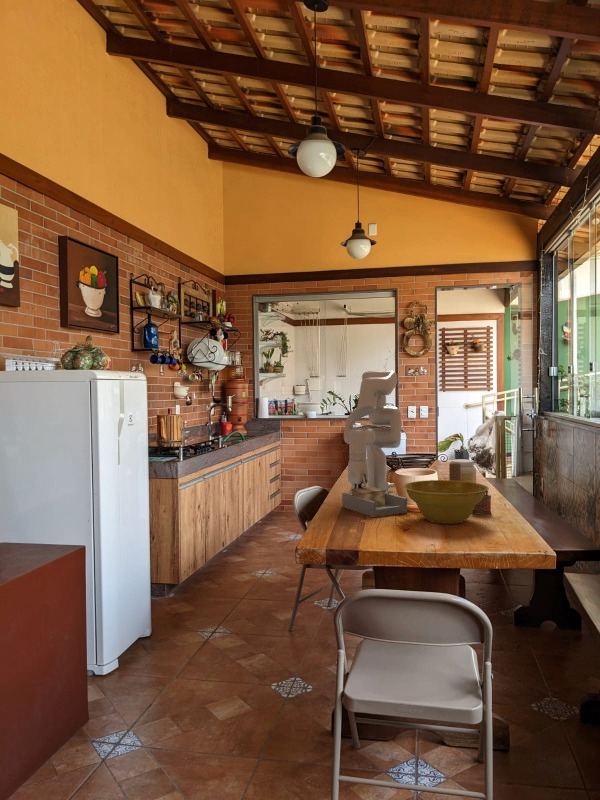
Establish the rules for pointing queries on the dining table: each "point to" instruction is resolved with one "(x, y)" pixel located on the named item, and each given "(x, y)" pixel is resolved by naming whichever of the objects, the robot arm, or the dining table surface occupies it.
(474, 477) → the supplement tub
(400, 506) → the bay
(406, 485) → the planter bowl
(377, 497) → the crate
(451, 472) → the wooden block
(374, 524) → the dining table surface
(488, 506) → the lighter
